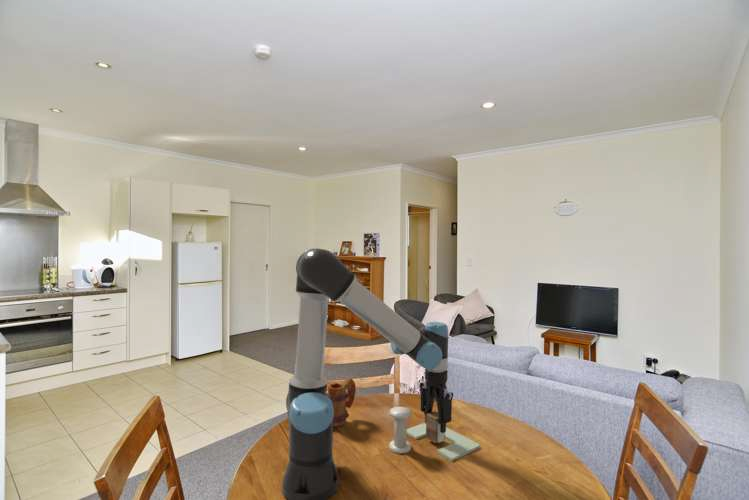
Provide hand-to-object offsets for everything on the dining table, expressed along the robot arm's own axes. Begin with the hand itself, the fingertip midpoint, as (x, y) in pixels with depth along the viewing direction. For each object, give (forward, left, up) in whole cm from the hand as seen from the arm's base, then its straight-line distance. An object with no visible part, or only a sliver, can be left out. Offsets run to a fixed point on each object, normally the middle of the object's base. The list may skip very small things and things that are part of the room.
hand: (435, 437), depth 127 cm
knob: (-12, +4, -2) cm, 13 cm away
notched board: (+3, 0, -2) cm, 3 cm away
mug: (-18, +31, -2) cm, 36 cm away
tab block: (0, 0, 0) cm, 0 cm away
